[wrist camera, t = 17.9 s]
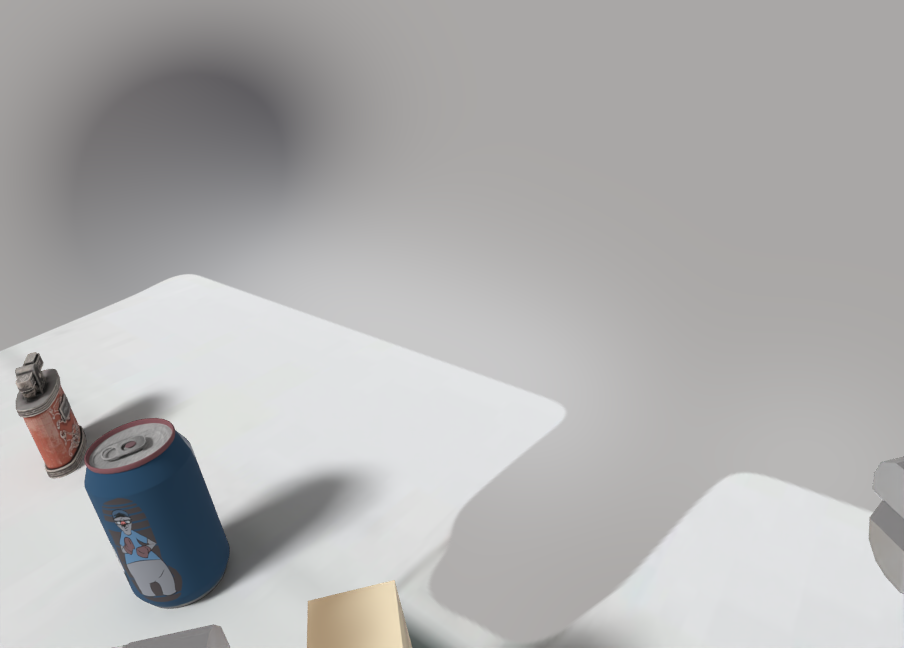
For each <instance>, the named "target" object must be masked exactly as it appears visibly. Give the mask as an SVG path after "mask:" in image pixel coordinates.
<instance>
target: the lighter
mask: <svg viewBox="0 0 904 648" xmlns="http://www.w3.org/2000/svg"><path fill="white" fill-rule="evenodd" d="M42 366H43V361H42V359H41V356H40V354H39V353H36V352H34V353H30V354H28V355H27V357H26V359H25V361H24V364H23V366H22V367H19V368H16V370H15V373H16V378H17V380H16V385H17V387H18V389H19V393H18V395H17V398H16V410H17V412H18V414H19V416H20V417H23V418H24V420H25V423H26V425H27V427H28V429H29V431H30V433H31V435H32V437H33V439H34V441H35V443H36V445H37V447H38V449H39V451H40V453H41V455H42V458H43V460H44V462H45V469H46V471H47V473H48V475H49V477H50V478H60V477H63V476H66V475H68V474H70V473H72V472H73V471H75V470H76V469H77V467H78V466H79V464H80V462H81V460H82V458H83V456H84V453H85V450H86V436H85V433H84V431H83V428H82V427H81V426H79V425H78V423H77V420H76V418H75V416H74V414H73V412H72V409H71V407H70V404H69V402H68V399H67V397H66V395H65V394H64V392H63V389H62V387H61V385H60V377H59V375H58V373H57V371H56V370H55V369H48V370H43V371H41V368H42Z"/></svg>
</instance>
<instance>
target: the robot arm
mask: <svg viewBox="0 0 904 648" xmlns="http://www.w3.org/2000/svg"><path fill="white" fill-rule="evenodd" d="M873 490H874V492H875V493H877V495H878V496H879V497H880V498H881V499H882V500H883V501H882V502H881V503H880V505H879V506H878V507H877V509H876V510H875V511H874V513H873V514H872V515H871V517H870V522H869V541H870V545H871V548H872V551H873V554H874V557H875V560H876V562H877V564H878V565H879V567H880V568H881V570H882V572H883V573H884V575H885V577H886V578H887V579H888V580H889V581H890V582H891V583H892V584H893V585H894V586H895V588H896V589H897V590H898V591H899V592H900V593H902V594H904V457H900V458H896V459H892V460H888V461H884V462H881V463H880V465H879V466H878V468H877V469H876V471H875V472H874V480H873ZM113 648H230V645H229V643H228V641H227V639H226V637H225V634H224V632H223V630H222V628H221V627H220V626H217V625H209V626H205V627H200V628H196V629H191V630H186V631H182V632H177V633H173V634H168V635H163V636H159V637H154V638H150V639H145V640H140V641H136V642H131V643H129V644H128V645H123V646H118V647H113Z"/></svg>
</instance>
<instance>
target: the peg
mask: <svg viewBox="0 0 904 648" xmlns="http://www.w3.org/2000/svg"><path fill="white" fill-rule="evenodd" d="M307 648H412V645H411V641H410V637H409V634H408V630H407V626H406V622H405V618H404V615H403V611H402V607H401V603H400V599H399V595H398V592H397V588H396V584H395V580H393V581H389V582H385V583H381V584H377V585H372V586H368V587H364V588H360V589H356V590H352V591H348V592H343V593H339V594H335V595H331V596H327V597H323V598H319V599H315V600H310V601H308V624H307Z"/></svg>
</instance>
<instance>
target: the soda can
mask: <svg viewBox="0 0 904 648" xmlns="http://www.w3.org/2000/svg"><path fill="white" fill-rule="evenodd" d="M84 461H85V464H86V466H87V468H86V475H85V489H86V491H87V493H88V495H89V497H90V500H91V502H92V504H93V506H94V508H95V510H96V513H97V515H98V517H99V519H100V521H101V523H102V526H103V528H104V530H105V532H106V534H107V536H108V538H109V541H110V543H111V545H112V547H113V549H114V551H115V554H116V556H117V558H118V560H119V562H120V564H121V567H122V569H123V571H124V573H125V575H126V577H127V580H128V582H129V584H130V586H131V588H132V590H133V592H134V594H135V595H136V596H137V597H138V598H140V599H141V600H143V601H145V602H147V603H150V604H152V605H155V606H157V607H160V608H168V609H169V608H178V607H182V606H186V605H189V604H191V603H193V602H195V601H197V600H199V599H201V598H203V597H204V596H206V595H207V594H208V593H209V592H211V591H212V590H213V589H214V588H215V587H216V586H217V584H218V583H219V582H220V580H221V579H222V577H223V575H224V572H225V569H226V566H227V562H228V558H229V552H230V550H229V544H228V541H227V538H226V536H225V533H224V531H223V528H222V525H221V523H220V520H219V518H218V515H217V512H216V510H215V507H214V504H213V502H212V499H211V497H210V494H209V491H208V489H207V486H206V483H205V481H204V478H203V476H202V473H201V470H200V468H199V465H198V463H197V460H196V457H195V455H194V452H193V449H192V447H191V444H190V442H189V441H188V440H187V439H186V438H185V437H184V436H182V435H181V434H180V433H178V432H177V431H176V430H175V428H174V426H173V425H172V423H170V422H169V421H167V420H164V419H159V418H148V419H141V420H136V421H133V422H130V423H127V424H124V425H122V426H119V427H117V428H115V429H113V430H111V431H109V432H108V433H106V434H104V435H103V436H101V437H100V438H99V439H97V440H96V441H95V442H94V443H93V444H92V445H91V446H90V447H89V449H88V450H87V452H86V454H85V458H84Z"/></svg>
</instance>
